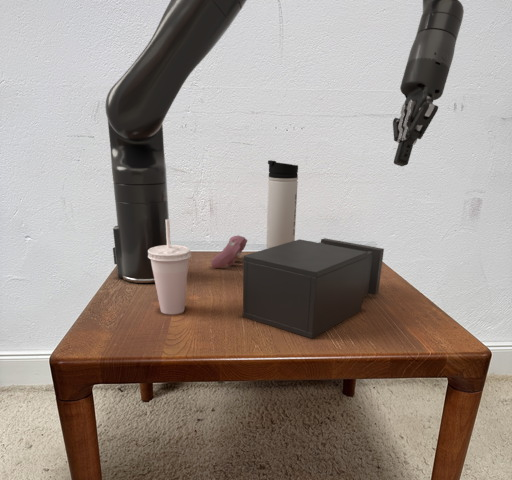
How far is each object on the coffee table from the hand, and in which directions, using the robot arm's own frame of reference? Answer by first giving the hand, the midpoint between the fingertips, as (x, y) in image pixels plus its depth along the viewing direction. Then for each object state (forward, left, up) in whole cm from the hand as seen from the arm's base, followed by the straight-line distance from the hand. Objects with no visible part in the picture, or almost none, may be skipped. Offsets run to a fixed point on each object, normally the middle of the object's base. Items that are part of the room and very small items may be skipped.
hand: (400, 164), depth 90 cm
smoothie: (-32, -33, -21) cm, 50 cm away
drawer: (-8, -19, -20) cm, 28 cm away
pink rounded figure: (-32, -4, -21) cm, 38 cm away
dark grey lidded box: (-12, -28, -21) cm, 36 cm away
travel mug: (-24, +7, -21) cm, 32 cm away
